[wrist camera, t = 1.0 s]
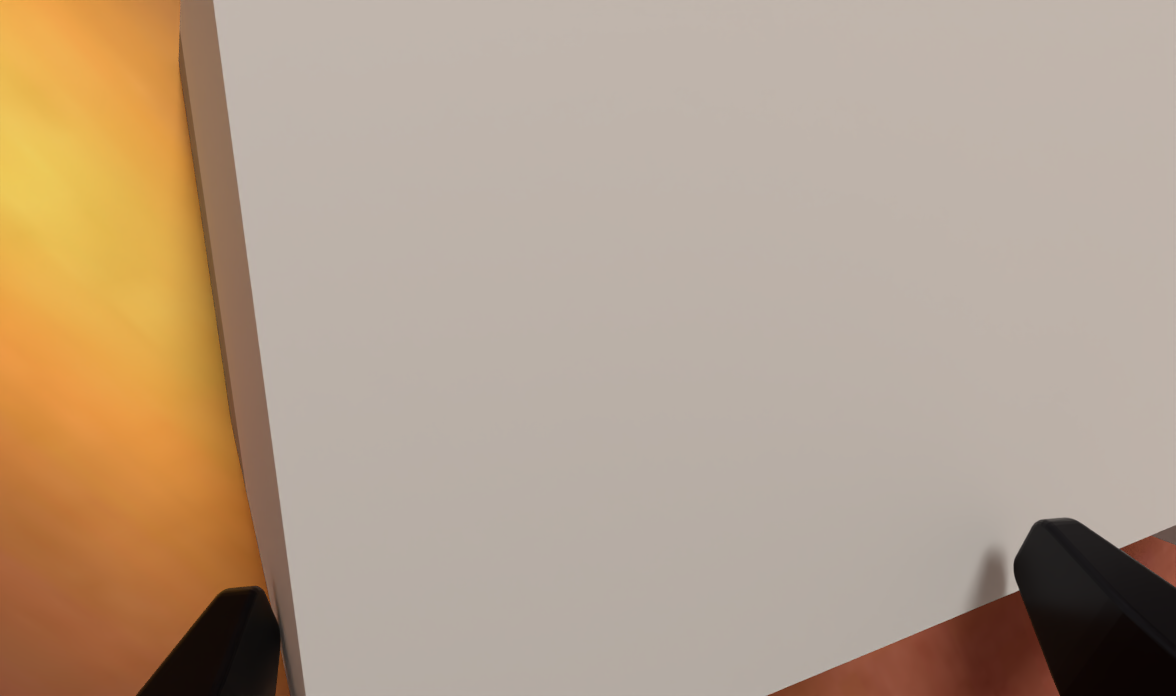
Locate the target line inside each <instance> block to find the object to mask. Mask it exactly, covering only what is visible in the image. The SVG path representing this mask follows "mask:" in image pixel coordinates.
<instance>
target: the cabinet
mask: <svg viewBox="0 0 1176 696" xmlns="http://www.w3.org/2000/svg"><path fill="white" fill-rule="evenodd" d="M179 67H180V74H181V81H182V88H183V95H184V102H185V108H186V115H187V122H188V129H189V136H190V143H191V150H192V156H193V163H194V170H195V177H196V184H197V191H198V198H199V204H200V211H201V218H202V225H203V232H204V239H205V246H206V252H207V259H208V266H209V273H210V280H211V287H212V294H213V300H214V307H215V314H216V321H217V328H218V335H219V342H220V348H221V355H222V362H223V369H224V376H225V383H226V390H227V396H228V403H229V410H230V417H231V423H232V428H233V433H234V437H235V442H236V446H237V451H238V456H239V460H240V465H241V469H242V474H243V479H244V483H245V488H246V492H247V497H248V502H249V506H250V511H251V515H252V520H253V525H254V529H255V534H256V539H257V543H258V548H259V552H260V557H261V562H262V566H263V571H264V575H265V580H266V585H267V589H268V594H269V598H270V603H271V608H272V610H273V613H274V615H275V617H276V619H277V622H278V624H279V629H280V636H281V646H280V649H281V654H282V658H283V663H284V668H285V672H286V677H287V681H288V686H289V691H290V695H291V696H767V695H769V694H771V693H774V692H776V691H779V690H781V689H783V688H786V687H788V686H791V685H793V684H795V683H798V682H800V681H803V680H805V679H807V678H810V677H812V676H815V675H817V674H819V673H822V672H824V671H827V670H829V669H831V668H834V667H836V666H839V665H841V664H843V663H846V662H848V661H851V660H853V659H855V658H858V657H860V656H863V655H865V654H867V653H870V652H872V651H875V650H877V649H879V648H882V647H884V646H887V645H889V644H891V643H894V642H896V641H899V640H901V639H903V638H906V637H908V636H911V635H913V634H915V633H918V632H920V631H923V630H925V629H927V628H930V627H932V626H935V625H937V624H939V623H942V622H944V621H947V620H949V619H951V618H954V617H956V616H959V615H961V614H963V613H966V612H968V611H971V610H973V609H975V608H978V607H980V606H983V605H985V604H987V603H990V602H992V601H995V600H997V599H999V598H1002V597H1004V596H1007V595H1009V594H1011V593H1014V592H1016V591H1019V588H1018V586H1017V583H1016V580H1015V577H1014V571H1013V564H1014V559H1015V557H1016V555H1017V553H1018V551H1019V549H1020V547H1021V546H1022V544H1023V542H1024V540H1025V538H1026V536H1027V534H1028V533H1029V531H1030V529H1031V527H1032V526H1033V524H1034V523H1035V522H1037V521H1039V520H1041V519H1051V518H1063V517H1066V518H1072V519H1075V520H1077V521H1079V522H1081V523H1082V524H1084V525H1085V526H1087V527H1088V528H1090V529H1091V530H1092V531H1094V532H1095V533H1097V534H1098V535H1100V536H1101V537H1103V538H1104V539H1106V540H1107V541H1108V542H1110V543H1111V544H1113V545H1114V546H1116V547H1117V548H1122V547H1124V546H1127V545H1129V544H1131V543H1134V542H1136V541H1139V540H1141V539H1143V538H1146V537H1148V536H1151V535H1153V534H1155V533H1158V532H1160V531H1163V530H1165V529H1167V528H1170V527H1172V526H1175V525H1176V0H181V6H180V35H179Z"/></svg>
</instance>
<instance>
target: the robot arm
mask: <svg viewBox="0 0 1176 696" xmlns="http://www.w3.org/2000/svg"><path fill="white" fill-rule="evenodd" d="M1013 571H1014V577H1015V580H1016V583H1017V586H1018V588H1019V591H1020V594H1021V596H1022V599H1023V601H1024V604H1025V607H1026V609H1027V612H1028V615H1029V617H1030V620H1031V622H1032V625H1033V628H1034V630H1035V633H1036V636H1037V638H1038V641H1039V644H1040V646H1041V649H1042V651H1043V654H1044V657H1045V659H1046V662H1047V665H1048V667H1049V670H1050V673H1051V675H1052V678H1053V680H1054V683H1055V685H1056V687H1057V690H1058V692H1059V695H1060V696H1176V587H1174V586H1173V585H1171V584H1170V583H1168V582H1167V581H1165V580H1164V579H1163V578H1161V577H1160V576H1158V575H1157V574H1155V573H1154V572H1152V571H1151V570H1149V569H1148V568H1146V567H1145V566H1144V565H1142V564H1141V563H1139V562H1138V561H1136V560H1135V559H1133V558H1132V557H1130V556H1129V555H1127V554H1126V553H1125V552H1123V551H1122V550H1120V549H1119V548H1117V547H1116V546H1114V545H1113V544H1111V543H1110V542H1108V541H1107V540H1106V539H1104V538H1103V537H1101V536H1100V535H1098V534H1097V533H1095V532H1094V531H1092V530H1091V529H1090V528H1088V527H1087V526H1085V525H1084V524H1082V523H1081V522H1079V521H1077V520H1075V519H1072V518H1066V517H1063V518H1051V519H1041V520H1039V521H1037V522H1035V523H1034V524H1033V526H1032V527H1031V529H1030V531H1029V533H1028V534H1027V536H1026V538H1025V540H1024V542H1023V544H1022V546H1021V547H1020V549H1019V551H1018V553H1017V555H1016V557H1015V559H1014V564H1013ZM280 646H281V636H280V629H279V624H278V622H277V619H276V617H275V615H274V613H273V610H272V608H271V606H270V603H269V601H268V599H267V596H266V594H265V592H264V591H263V589H261V588H260V587H258V586H248V587H236V588H228V589H225V590H223V591H222V592H220V593H219V594H218V595H217V596H216V597H215V598H214V600H213V601H212V602H211V603H210V605H209V606H208V607H207V608H206V610H205V611H204V612H203V613H202V614H201V616H200V617H199V618H198V619H197V621H196V622H195V623H194V624H193V626H192V627H191V628H190V629H189V631H188V632H187V633H186V634H185V636H184V637H183V638H182V639H181V640H180V642H179V643H178V644H177V645H176V647H175V648H174V649H173V650H172V652H171V653H170V654H169V655H168V657H167V658H166V659H165V660H164V661H163V663H162V664H161V665H160V666H159V668H158V669H157V670H156V671H155V673H154V674H153V675H152V676H151V678H150V679H149V680H148V681H147V683H146V684H145V685H144V686H143V687H142V689H141V690H140V691H139V692H138V694H137V695H136V696H275V693H276V684H277V674H278V665H279V656H280Z"/></svg>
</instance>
